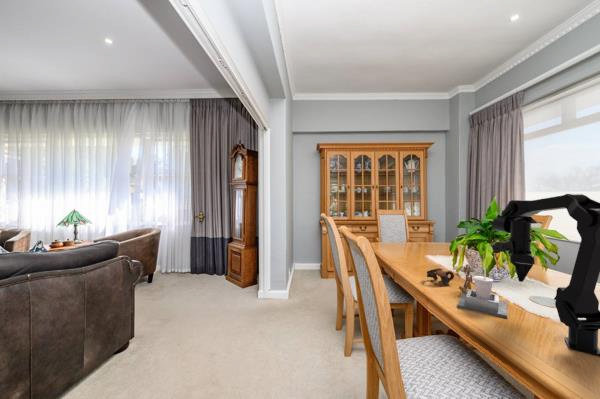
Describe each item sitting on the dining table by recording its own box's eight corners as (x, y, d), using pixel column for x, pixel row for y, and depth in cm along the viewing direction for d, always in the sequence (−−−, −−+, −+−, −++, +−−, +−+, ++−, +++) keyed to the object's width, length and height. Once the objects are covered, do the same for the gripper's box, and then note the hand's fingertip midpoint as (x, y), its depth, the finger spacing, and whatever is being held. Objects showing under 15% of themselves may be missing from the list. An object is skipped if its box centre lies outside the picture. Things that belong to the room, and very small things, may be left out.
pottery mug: (433, 287, 124) (426, 270, 128) (429, 290, 133) (423, 273, 137) (460, 282, 123) (452, 264, 127) (454, 285, 131) (447, 268, 135)
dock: (507, 318, 92) (507, 307, 92) (457, 307, 101) (457, 296, 101) (506, 304, 104) (506, 294, 104) (461, 295, 113) (462, 286, 113)
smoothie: (496, 307, 99) (497, 270, 99) (477, 306, 100) (478, 269, 100) (488, 300, 105) (488, 265, 105) (470, 299, 106) (470, 264, 106)
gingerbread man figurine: (476, 295, 114) (477, 267, 113) (466, 294, 115) (467, 266, 114) (468, 288, 122) (468, 262, 122) (459, 287, 123) (459, 261, 123)
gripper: (492, 230, 108) (492, 268, 108) (492, 236, 93) (491, 280, 93) (528, 232, 101) (528, 273, 102) (534, 239, 86) (534, 287, 87)
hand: (519, 278), depth 96 cm, fingers open, 9 cm apart
